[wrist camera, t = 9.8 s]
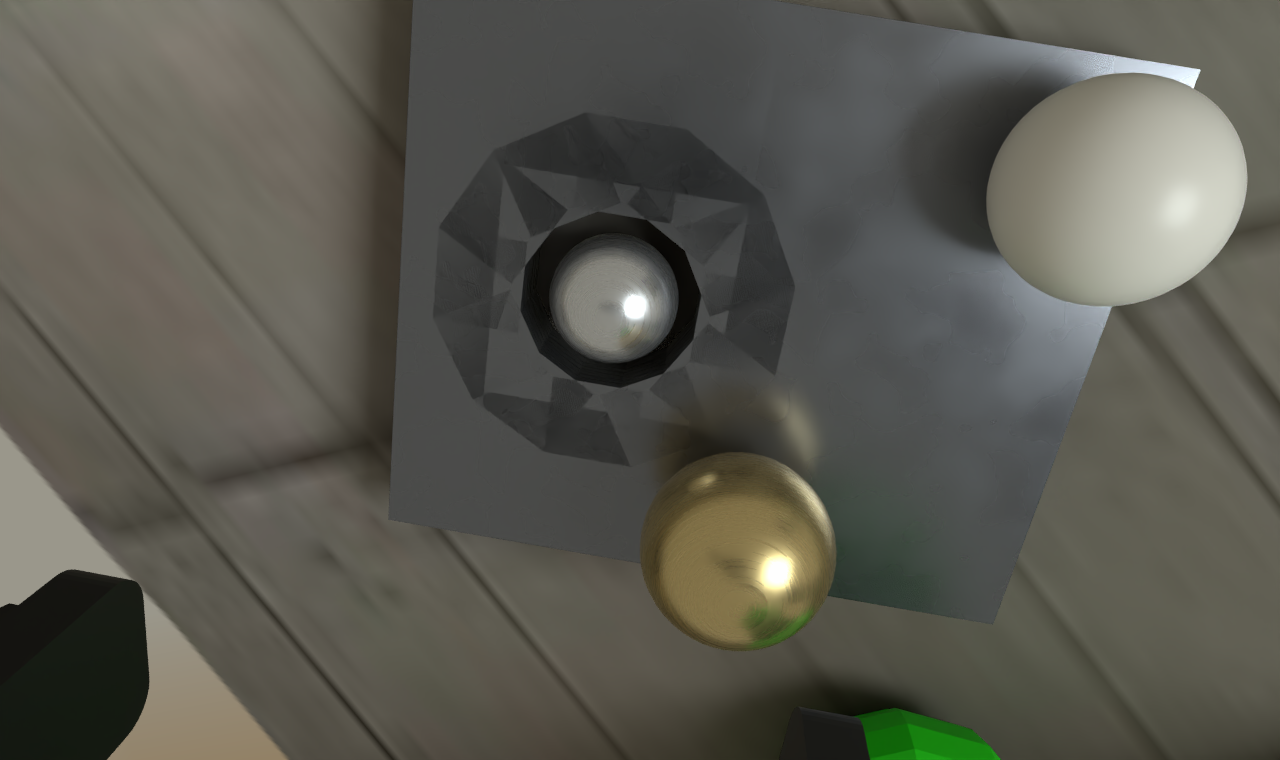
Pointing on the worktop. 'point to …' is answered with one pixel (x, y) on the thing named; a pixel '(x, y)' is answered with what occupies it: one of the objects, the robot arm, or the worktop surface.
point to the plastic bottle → (920, 738)
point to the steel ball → (613, 298)
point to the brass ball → (738, 551)
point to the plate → (735, 279)
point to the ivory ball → (1116, 189)
